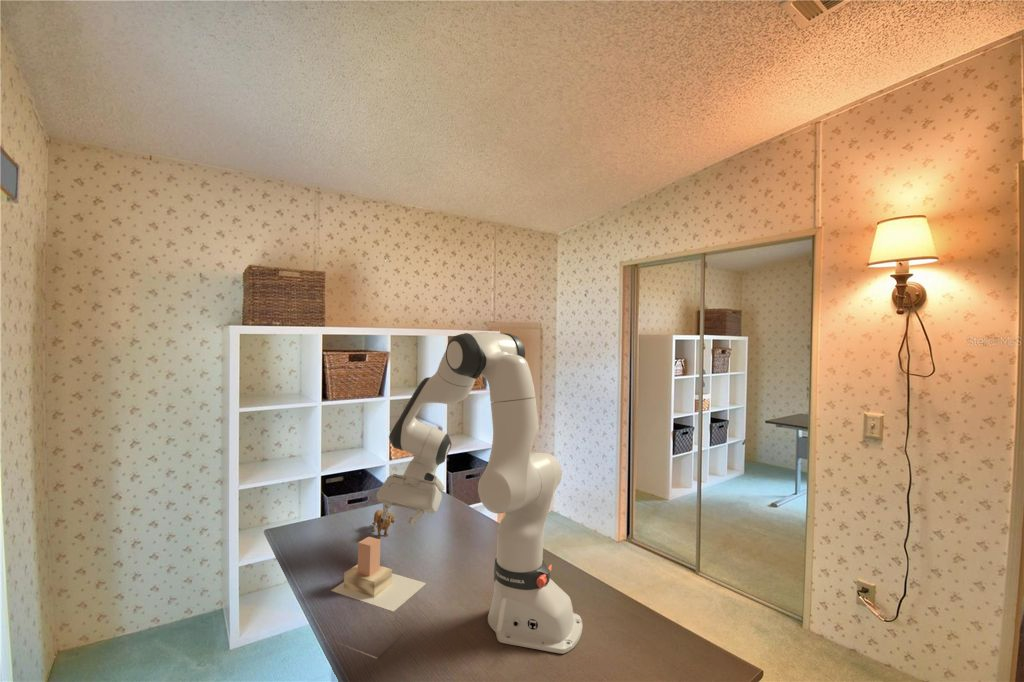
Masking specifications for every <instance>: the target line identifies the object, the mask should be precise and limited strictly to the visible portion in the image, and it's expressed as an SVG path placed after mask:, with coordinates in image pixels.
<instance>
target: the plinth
mask: <svg viewBox="0 0 1024 682" xmlns="http://www.w3.org/2000/svg"><path fill="white" fill-rule="evenodd" d="M392 573H393V569H391V568H389V567H386V566H382V565H380V569H379V570H378V571H377V572H375V573H374V574H372V575H371V576H367V575H364V574H360V573H358V563H357V564H356V565H354V566H352V567H351V568H349V569H347V570H346V571H344V573H343V575H344V576H343V582H344V588H346V589H350V590H353V591H356V592H359V593H362V594H365V595H368V596H371V597H376V596H377V595H378V594H379V593H381V592H382V591H383V590H385V589H386V588H387V587H389V586H390V585H391V584H392Z"/></svg>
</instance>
